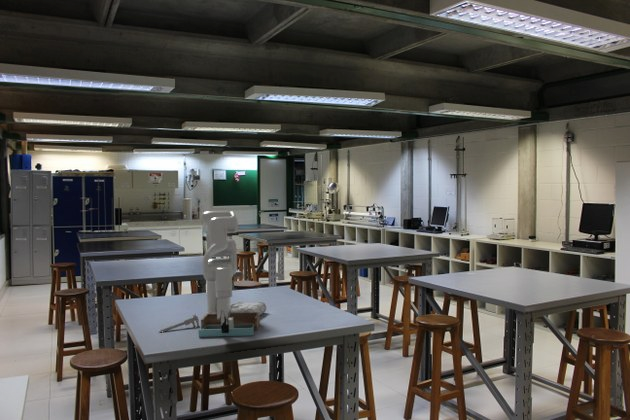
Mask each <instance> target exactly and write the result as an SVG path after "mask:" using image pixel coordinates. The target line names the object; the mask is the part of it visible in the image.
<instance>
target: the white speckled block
mask: <svg viewBox="0 0 630 420" xmlns="http://www.w3.org/2000/svg"><path fill="white" fill-rule="evenodd" d="M228 324H229V329H234V325H233V318H229V323H228Z"/></svg>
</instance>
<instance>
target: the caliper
mask: <svg viewBox="0 0 630 420" xmlns="http://www.w3.org/2000/svg"><path fill="white" fill-rule="evenodd" d="M195 323H196V324H195ZM190 324H191V325H192V326H193V327H194V326H195V327H196V326H197V327H198V326H199V325H200V324H199V317H198V315H196V314H195V313H194V314H192V317H189V318H187V319H184V320H183V321H181V322H178V323H175V324H173V325H170V326H167V327H164V328H162V329H161V328H160V330H159V331H158V332H160V333H163V332H162V331H166V332H168V331H171V330H173V329H176V328H179V327H182V326H189V325H190Z"/></svg>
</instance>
